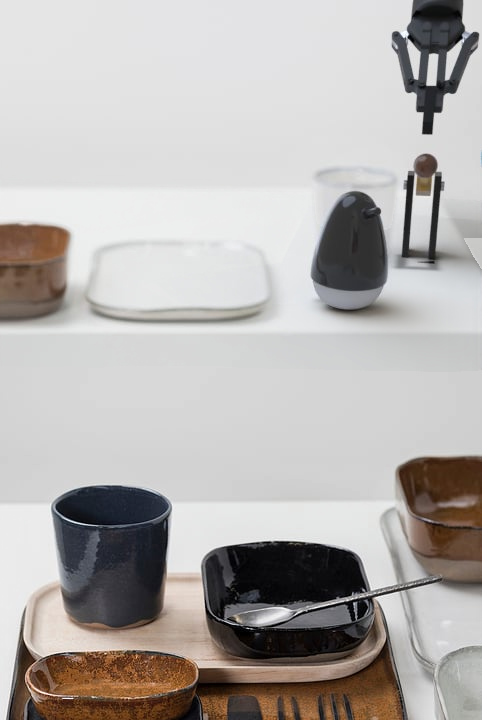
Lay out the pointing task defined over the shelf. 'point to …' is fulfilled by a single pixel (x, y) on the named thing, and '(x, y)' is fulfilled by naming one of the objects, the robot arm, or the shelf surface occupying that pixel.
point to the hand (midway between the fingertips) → (427, 128)
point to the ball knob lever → (424, 173)
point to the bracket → (434, 217)
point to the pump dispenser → (351, 253)
